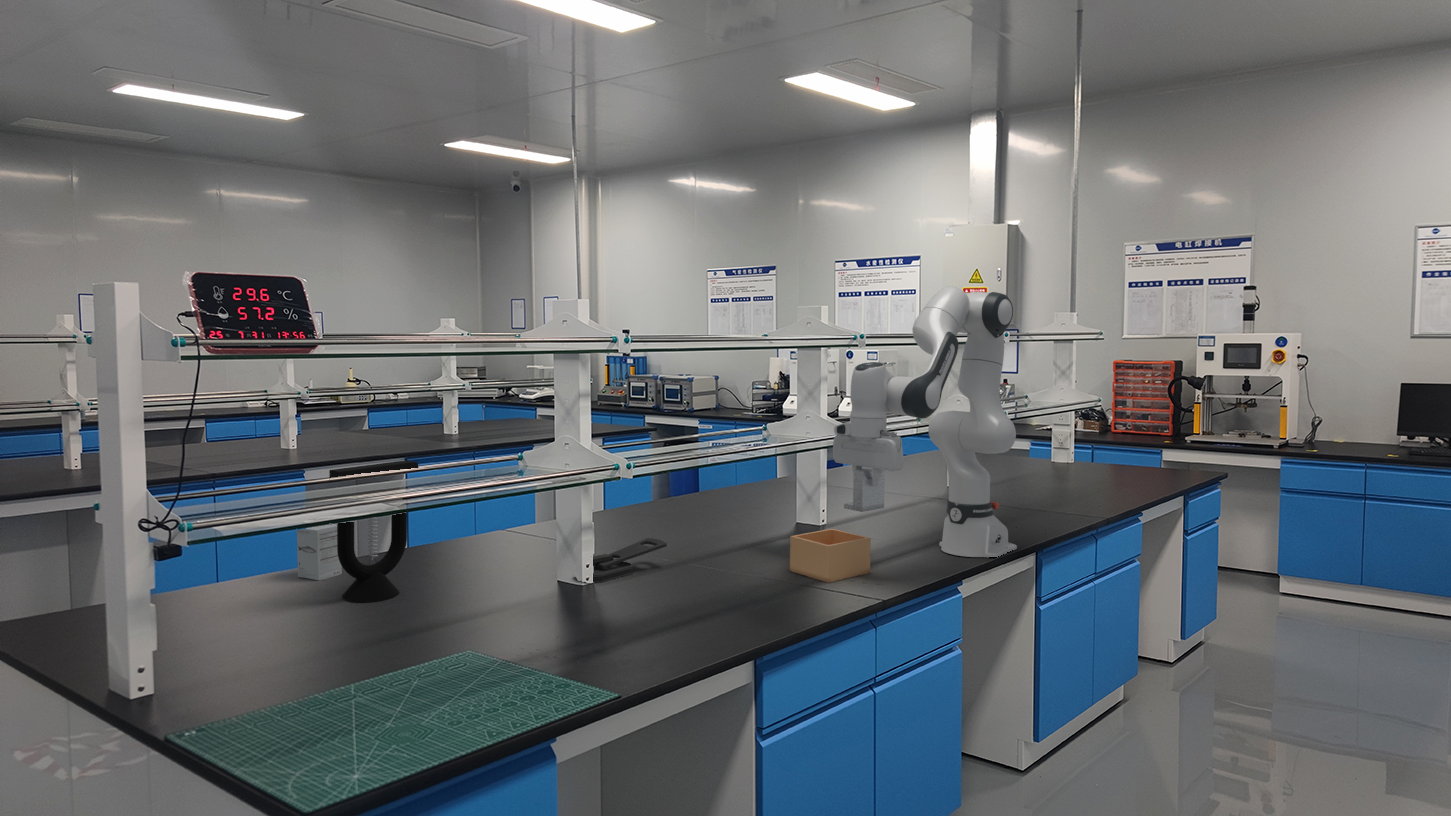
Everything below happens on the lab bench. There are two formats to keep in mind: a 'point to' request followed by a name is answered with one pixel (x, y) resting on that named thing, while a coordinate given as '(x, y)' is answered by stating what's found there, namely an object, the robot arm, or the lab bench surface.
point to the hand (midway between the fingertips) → (866, 485)
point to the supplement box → (318, 552)
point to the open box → (830, 555)
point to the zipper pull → (621, 560)
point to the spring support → (371, 577)
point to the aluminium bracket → (866, 491)
